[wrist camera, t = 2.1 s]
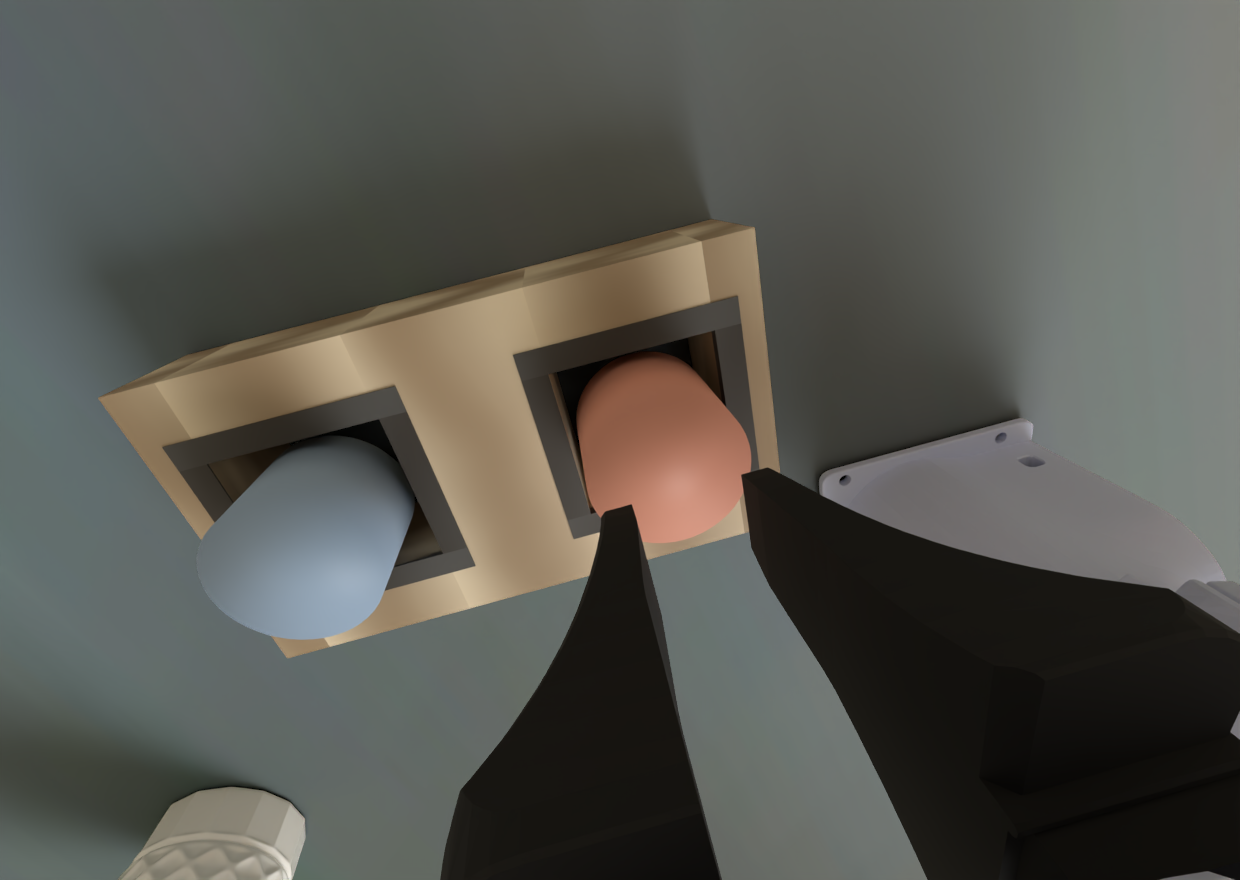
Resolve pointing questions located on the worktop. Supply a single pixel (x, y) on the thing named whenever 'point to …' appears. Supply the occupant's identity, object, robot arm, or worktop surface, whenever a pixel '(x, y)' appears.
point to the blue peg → (309, 540)
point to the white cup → (223, 838)
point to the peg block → (467, 408)
